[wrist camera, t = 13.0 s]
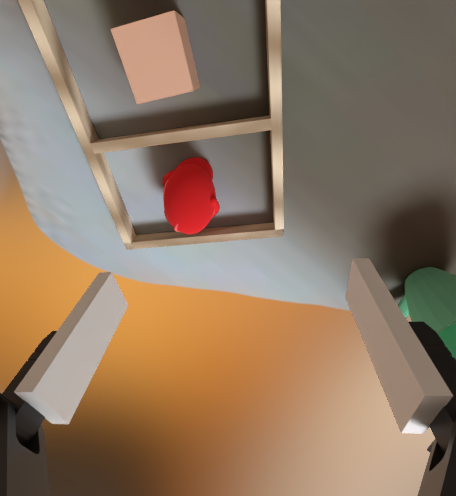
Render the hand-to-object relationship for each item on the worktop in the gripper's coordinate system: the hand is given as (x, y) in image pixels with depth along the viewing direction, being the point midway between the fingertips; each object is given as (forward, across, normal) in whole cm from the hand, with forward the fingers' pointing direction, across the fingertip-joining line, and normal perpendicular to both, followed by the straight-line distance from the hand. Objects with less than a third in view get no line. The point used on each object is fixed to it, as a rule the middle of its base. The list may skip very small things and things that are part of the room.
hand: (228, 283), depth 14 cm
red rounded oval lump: (+18, -5, -1) cm, 19 cm away
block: (+18, -6, +11) cm, 22 cm away
